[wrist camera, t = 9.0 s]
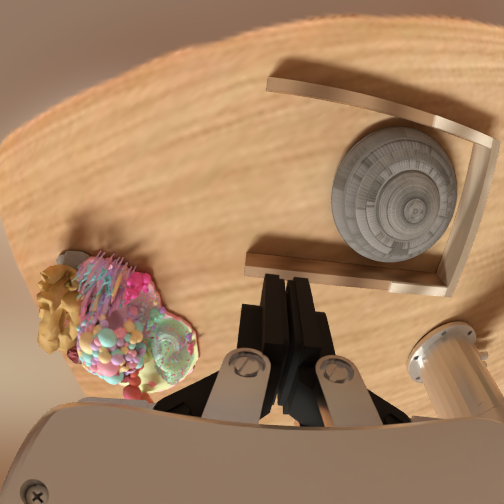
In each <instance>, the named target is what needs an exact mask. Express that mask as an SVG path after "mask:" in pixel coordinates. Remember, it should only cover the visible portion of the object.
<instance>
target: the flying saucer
mask: <svg viewBox="0 0 504 504" xmlns="http://www.w3.org/2000/svg"><path fill="white" fill-rule="evenodd" d="M456 200H457V182H456V176H455V172H454V168H453V166H452V163H451V161H450V159H449V157H448V155H447V153H446V152H445V150H444V149H443V148H442V147H441V145H440V144H439V143H438V142H437V141H436V140H434V139H433V138H432V137H430V136H429V135H427V134H426V133H424V132H422V131H419V130H416V129H413V128H409V127H389V128H384V129H381V130H378V131H375V132H373V133H371V134H369V135H367V136H366V137H364V138H363V139H361V140H360V141H359V142H358V143H357V144H355V145H354V146H353V147H352V148H351V150H350V151H349V152H348V153H347V155H346V156H345V157H344V159H343V161H342V162H341V164H340V166H339V168H338V170H337V173H336V176H335V179H334V182H333V187H332V196H331V205H332V213H333V218H334V221H335V224H336V227H337V229H338V231H339V233H340V235H341V236H342V238H343V239H344V241H345V242H346V243H347V244H348V245H349V246H350V247H351V248H352V249H353V250H354V251H356V252H357V253H358V254H360V255H362V256H364V257H366V258H368V259H371V260H375V261H379V262H400V261H404V260H408V259H411V258H414V257H416V256H418V255H420V254H422V253H423V252H425V251H426V250H428V249H429V248H430V247H432V246H433V245H434V244H435V243H436V242H437V241H438V240H439V239H440V237H441V236H442V235H443V233H444V232H445V230H446V229H447V227H448V225H449V223H450V221H451V219H452V216H453V213H454V210H455V206H456Z"/></svg>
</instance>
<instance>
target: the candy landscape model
mask: <svg viewBox="0 0 504 504" xmlns="http://www.w3.org/2000/svg"><path fill="white" fill-rule="evenodd" d="M101 252H102V251H100V252H99V253H98V255H97V256H96V257H90V256H89V255H88V254H85V253H84V252H82V251H66V252H65V254H63V255H59V257H58V258H57V260H56V261H57V265H54V266H49V267H48V268H47V269H46V270H44V271H42V272H41V273H40V274H41V277H42V280H41V281H40V282H39V283H37V285H38V287H39V288H40V289H41V292H39V293H38V294H37V301H38V304H39V307H40V309H39V317H40V318H42V319H41V322H40V326H39V332H38V343H39V346H40V347H41V348H42V349H43V350H44V351H45V352H47V353H49V354H51V353H53V352H54V351H56V350H61V351H67V356H68V357H69V358H70V359H71V360H72V361H73V362H74V363H76V364H77V363H78V364H82V366H83V367H84V368H85V369H86V370H88V372H90V373H92V374H94V375H98V377H100V378H102V379H105V380H106V381H107V382H108V383H110V384H120V385H122V386H126V387H125V388H124V389H123V396H124V398H125V399H134V400H147V402H148V403H154V402H153V401H152V399H151V398H150V396H149V395H148V394H147V393H146V392H148V393H153V392H162V391H163V390H165V389H170V388H171V387H173V386H175V385H176V384H177V383H178V382H180V381H182V380H184V378H185V376H187V375H188V374H190V373H191V372H193V366H194V365H195V363H196V361H197V360H198V358H199V352H198V344H197V336H196V331H195V330H193V329H192V327H191V325H190V324H189V323H188V322H187V321H185V320H184V319H183V318H181V317H178V316H175V315H174V314H172V313H170V312H168V311H166V309H165V307H164V306H162V304H161V298H160V294H159V293H158V292H157V291H156V289H155V284H154V282H153V281H151V276H150V275H149V274H148V273H144V274H143V273H140V272H136V271H135V272H134V270H135V268H136V267H137V265H136V266H135V267H134V270H133V271H132V270H131V269H132V266H131V267H130V268H128V266H127V265H128V262H126V263H125V265H122V261H123V259H124V257H123V258H122V259H121V261H120V262H119V263H118V260H119V259H120V257H119V258H118V259H115V260H114V262H113V259H112V257H113V256H114V255H115V253H114V254H113V255H112V256H111V257H110V258H108V257H107V258H106V259H104V258H103V256H104V255H105V252H104V253H103V254H102V256H101V257H99V254H100V253H101ZM115 262H116V264H115ZM117 263H118V264H117Z"/></svg>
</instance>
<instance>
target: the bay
mask: <svg viewBox="0 0 504 504" xmlns="http://www.w3.org/2000/svg"><path fill="white" fill-rule="evenodd" d="M266 91H269V92H277V93H284V94H291V95H297V96H304V97H310V98H315V99H321V100H326V101H331V102H336V103H341V104H346V105H350V106H355V107H359V108H364V109H368V110H372V111H376V112H380V113H384V114H387V115H391V116H395V117H398V118H402V119H405V120H409V121H412V122H415V123H419V124H422V125H425V126H428V127H431V128H434V129H437V130H440V131H443V132H446V133H449V134H451V135H454V136H457V137H460V138H462V139H465V140H468V141H470V142H473V143H474V145H473V150H472V155H471V160H470V164H469V168H468V173H467V177H466V181H465V185H464V189H463V193H462V196H461V200H460V203H459V207H458V210H457V214H456V217H455V220H454V224H453V227H452V230H451V233H450V236H449V239H448V242H447V245H446V248H445V251H444V253H443V256H442V259H441V262H440V264H439V267H438V270H437V272H436V274H435V273H426V272H417V271H408V270H399V269H390V268H381V267H372V266H363V265H354V264H346V263H337V262H328V261H319V260H310V259H301V258H292V257H283V256H275V255H266V254H257V253H248V252H246V261H245V271H244V276H249V277H258V278H264V276H265V273H267V274H276V275H279V278H280V279H284V280H286V281H288V280H293V277H302V278H308V280H309V283H315V284H325V285H336V286H346V287H357V288H368V289H380V290H388V291H389V292H393V293H406V294H418V295H432V296H444V297H452V295H453V293H454V290H455V288H456V286H457V283H458V281H459V279H460V276H461V274H462V271H463V269H464V266H465V264H466V261H467V259H468V256H469V253H470V251H471V248H472V245H473V242H474V240H475V237H476V234H477V231H478V228H479V225H480V222H481V218H482V215H483V212H484V209H485V205H486V202H487V198H488V195H489V191H490V187H491V183H492V179H493V175H494V171H495V167H496V162H497V157H498V153H499V148H500V142H501V141H499V140H496V139H494V138H492V137H490V136H487V135H485V134H483V133H480V132H478V131H476V130H473V129H471V128H469V127H466V126H464V125H461V124H459V123H456V122H453V121H451V120H448V119H445V118H443V117H440V116H437V115H433V114H430V113H427V112H424V111H421V110H418V109H415V108H412V107H409V106H405V105H402V104H399V103H395V102H392V101H388V100H385V99H381V98H377V97H373V96H370V95H366V94H361V93H357V92H353V91H349V90H344V89H339V88H335V87H330V86H325V85H319V84H314V83H308V82H302V81H296V80H290V79H283V78H275V77H268V80H267V88H266Z"/></svg>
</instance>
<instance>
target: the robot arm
mask: <svg viewBox="0 0 504 504" xmlns="http://www.w3.org/2000/svg"><path fill="white" fill-rule="evenodd" d="M475 344H476V333H475V331H474V329H473V328H472V327H471V326H470V325H469V324H468V323H466V322H462V321H456V322H450V323H447V324H444V325H442V326H440V327H438V328H436V329H434V330H433V331H431V332H430V333H429V334H427V335H426V336H425V337H424V338H423V339H422V340H421V341H420V342H419V343H418V344H417V345H416V346H415V347H414V349H413V350H412V352H411V354H410V355H409V358H408V361H407V371H408V374H409V376H410V377H411V379H412V380H414V381H415V382H418V383H424V386H425V388H426V390H427V393H428V395H429V397H430V400H431V402H432V404H433V407H434V409H435V412H436V414H437V417H438V418H430V417H420V416H412V418H409V417H408V416H407V415H406V414H405V413H404V412H402V411H401V410H399V409H397V408H396V407H394V406H393V405H391V404H390V403H388V402H387V401H385V400H383V399H382V398H380V397H379V396H377V395H376V394H374V393H373V392H371V391H370V390H368V389H367V388H366V386H365V384H364V382H363V379H362V377H361V375H360V373H359V371H358V369H357V367H356V366H355V364H354V363H353V362H351V361H350V360H349V359H347V358H345V357H342V356H338V355H335V350H334V346H333V342H332V338H331V333H330V329H329V325H328V321H327V317H326V314H325V313H324V312H315V308H314V303H313V298H312V293H311V289H310V284H309V280H308V278H302V277H293V280H288V282H287V286H286V292H285V281H284V279H280V278H279V275H276V274H267V273H265V276H264V283H263V289H262V295H261V302H260V306H257V305H248V304H242V309H241V317H240V326H239V334H238V343H237V349H235V350H232V351H231V352H229V353H228V354H227V355H226V356H225V358H224V360H223V363H222V365H221V368H220V370H219V371H217V372H215V373H213V374H211V375H210V376H208V377H206V378H204V379H202V380H200V381H198V382H196V383H194V384H192V385H189V386H187V387H185V388H183V389H181V390H179V391H177V392H175V393H173V394H171V395H169V396H167V397H164V398H163V399H161V400H160V401H158V402H157V403H148V402H147V400H134V399H113V398H98V397H87V398H83V399H81V400H79V401H78V402H72V403H66V404H61V405H58V406H56V407H53V408H51V409H50V410H48V411H46V412H45V413H44V414H43V415H42V416H41V417H40V418H39V419H38V420H37V422H36V423H35V424H34V426H33V427H32V429H31V430H30V431H29V433H28V434H27V436H26V438H25V440H24V441H23V443H22V445H21V447H20V448H19V451H18V452H17V454H16V456H15V458H14V461H13V462H12V464H11V466H10V469H9V471H8V474H7V476H6V478H5V481H4V483H3V486H2V488H1V491H0V504H504V397H503V395H502V393H501V391H500V390H499V388H498V386H497V384H496V383H495V381H494V379H493V378H492V376H491V374H490V373H489V371H488V369H487V368H486V367H487V364H486V362H485V361H482V360H486V359H487V358H488V352H487V351H486V352H479V351H478V349H477V347H476V346H475ZM276 395H277V398H278V405H280V406H283V414H289V415H290V416H292V417H293V418H294V419H295V422H294V425H295V426H279V425H264V424H258V423H259V420H260V419H261V418H263V417H264V416H266V415H267V414H269V413H270V410H271V407H272V405H274V402H275V399H276Z"/></svg>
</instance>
